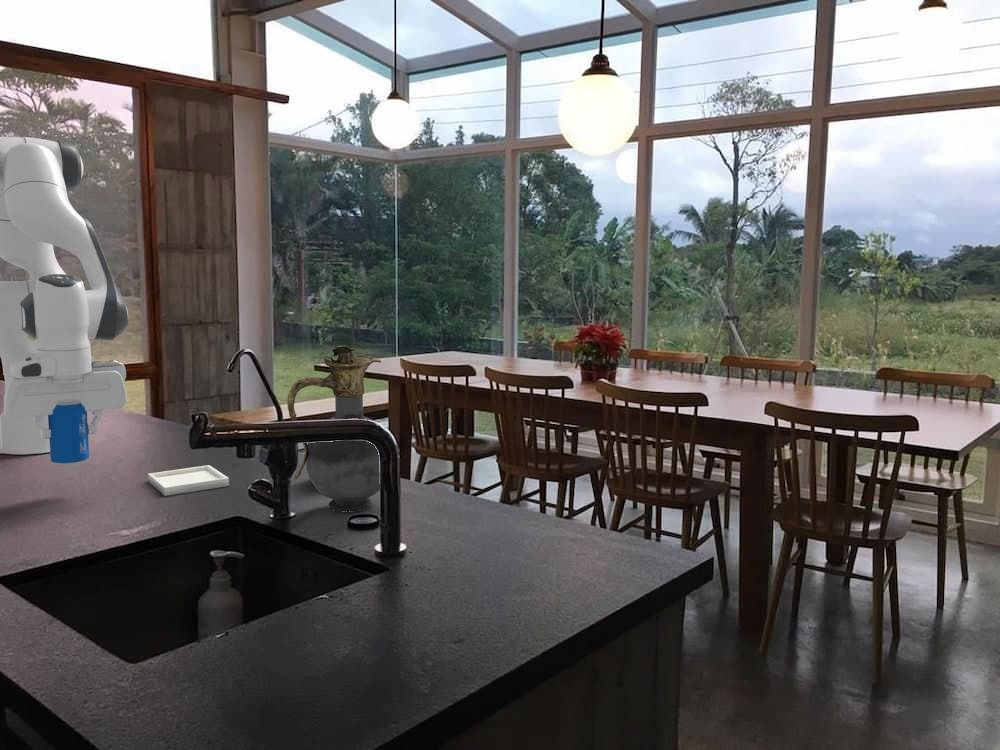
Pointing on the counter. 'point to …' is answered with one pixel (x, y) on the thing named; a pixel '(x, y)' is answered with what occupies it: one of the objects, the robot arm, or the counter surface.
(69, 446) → the beverage can
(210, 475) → the tray
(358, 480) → the pitcher
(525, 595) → the counter surface
